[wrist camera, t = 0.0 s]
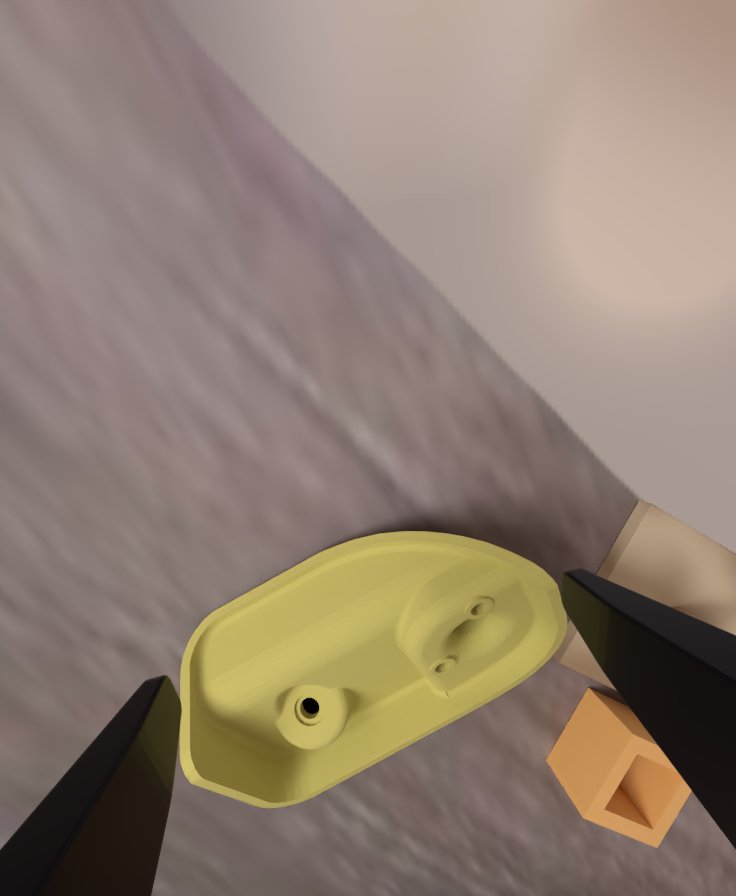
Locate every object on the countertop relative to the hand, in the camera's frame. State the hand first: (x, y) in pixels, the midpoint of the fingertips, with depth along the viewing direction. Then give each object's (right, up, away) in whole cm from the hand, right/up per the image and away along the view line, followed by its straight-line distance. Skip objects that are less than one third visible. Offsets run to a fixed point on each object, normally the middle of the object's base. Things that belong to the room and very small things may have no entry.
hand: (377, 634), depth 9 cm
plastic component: (0, -8, +17) cm, 19 cm away
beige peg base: (+20, -7, +19) cm, 29 cm away
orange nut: (+16, -17, +20) cm, 31 cm away
